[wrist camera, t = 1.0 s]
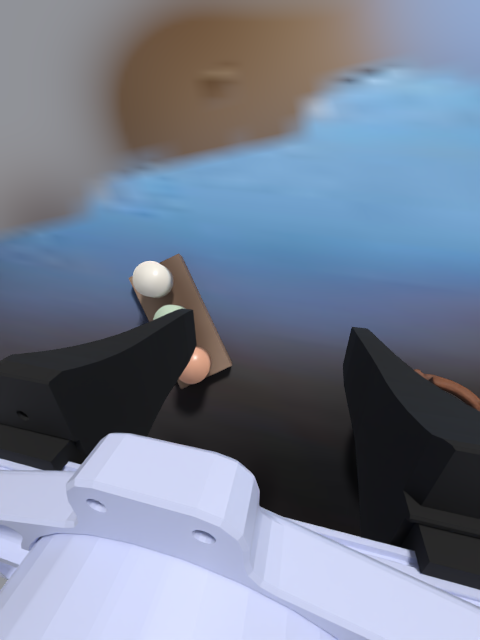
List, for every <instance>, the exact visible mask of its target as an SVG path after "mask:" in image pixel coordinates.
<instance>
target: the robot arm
mask: <svg viewBox="0 0 480 640" xmlns="http://www.w3.org/2000/svg"><path fill="white" fill-rule="evenodd" d="M196 346H197V342H196V332H195V323H194V313H193V310H191V309H182V308H181V309H178V310H175V311H173V312H170V313H168V314H166V315H164V316H161V317H159V318H157V319H155V320H153V321H150V322H148V323H146V324H143V325H141V326H138V327H136V328H134V329H131V330H129V331H126V332H123V333H121V334H118V335H115V336H111V337H108V338H105V339H102V340H98V341H94V342H90V343H86V344H82V345H77V346H72V347H67V348H61V349H55V350H49V351H42V352H33V353H24V354H13V355H10V356H8V357H6V358H4V359H3V360H1V361H0V576H1V577H3V578H5V579H7V580H8V581H7V582H6V583H5V585H4V586H3V588H2V589H1V590H0V640H480V411H478V410H476V409H474V408H472V407H471V406H469V405H467V404H465V403H464V402H462V401H460V400H458V399H457V398H455V397H453V396H451V395H450V394H448V393H446V392H445V391H443V390H442V389H440V388H439V387H437V386H436V385H434V384H433V383H431V382H430V381H428V380H427V379H425V378H424V377H423V376H421V375H420V374H418V373H417V372H416V371H414V370H413V369H412V368H411V367H410V366H408V365H407V364H406V363H405V362H403V361H402V360H401V359H400V358H399V357H397V356H396V355H395V354H394V353H393V352H392V351H391V350H390V349H389V348H388V347H387V346H385V345H384V344H383V343H382V342H381V341H380V340H379V339H378V338H377V337H376V336H375V335H374V334H373V333H372V332H371V331H370V330H368V329H366V328H357V327H352V329H351V333H350V337H349V342H348V346H347V350H346V354H345V359H344V363H343V376H344V387H345V393H346V398H347V403H348V408H349V413H350V417H351V422H352V427H353V433H354V439H355V449H356V461H357V474H358V488H359V507H360V528H361V537H358V536H354V535H351V534H347V533H343V532H339V531H335V530H331V529H327V528H324V527H320V526H316V525H312V524H308V523H304V522H300V521H297V520H293V519H289V518H285V517H282V516H279V515H277V514H275V513H273V512H271V511H268V510H266V509H264V508H262V507H260V506H259V495H260V490H259V487H258V485H257V482H256V479H255V477H254V475H253V474H252V473H251V472H250V471H249V470H248V469H247V468H245V467H244V466H243V465H242V464H241V463H240V462H238V461H237V460H235V459H232V458H230V457H227V456H225V455H222V454H220V453H217V452H212V451H208V450H203V449H199V448H194V447H190V446H185V445H181V444H176V443H172V442H167V441H163V440H158V439H154V438H149V437H147V435H148V433H149V431H150V429H151V427H152V425H153V422H154V420H155V418H156V416H157V414H158V412H159V410H160V408H161V406H162V404H163V403H164V401H165V399H166V397H167V396H168V394H169V393H170V391H171V390H172V388H173V387H174V385H175V383H176V382H177V380H178V379H179V377H180V376H181V374H182V373H183V371H184V370H185V368H186V366H187V365H188V363H189V361H190V359H191V357H192V355H193V353H194V350H195V348H196Z"/></svg>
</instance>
